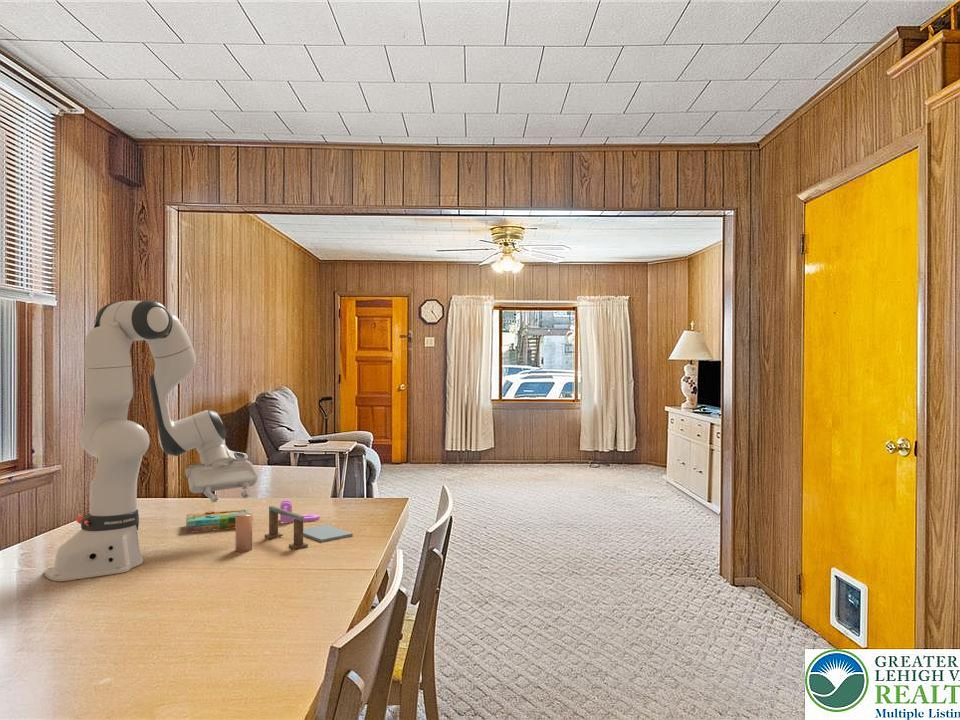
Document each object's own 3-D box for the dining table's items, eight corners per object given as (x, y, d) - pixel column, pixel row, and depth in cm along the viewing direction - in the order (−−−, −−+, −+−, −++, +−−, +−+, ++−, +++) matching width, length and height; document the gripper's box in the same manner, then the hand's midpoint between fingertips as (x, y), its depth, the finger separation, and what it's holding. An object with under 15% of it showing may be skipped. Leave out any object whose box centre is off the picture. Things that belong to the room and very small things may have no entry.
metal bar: (299, 521, 198) (299, 516, 198) (268, 510, 213) (268, 506, 213) (303, 520, 199) (303, 516, 199) (272, 509, 214) (272, 505, 214)
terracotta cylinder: (239, 552, 194) (239, 517, 194) (232, 549, 197) (232, 515, 197) (255, 549, 197) (255, 515, 197) (248, 546, 200) (248, 512, 200)
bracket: (280, 523, 230) (280, 503, 230) (280, 520, 235) (280, 500, 235) (319, 521, 233) (319, 501, 233) (319, 517, 239) (319, 498, 239)
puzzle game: (186, 512, 227) (249, 507, 235) (186, 526, 227) (249, 520, 235) (186, 519, 216) (252, 514, 224) (186, 534, 216) (252, 528, 224)
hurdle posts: (295, 549, 197) (295, 521, 197) (264, 536, 212) (264, 510, 212) (307, 546, 200) (308, 519, 200) (276, 534, 214) (276, 509, 214)
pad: (321, 542, 205) (321, 539, 205) (295, 532, 217) (295, 530, 217) (352, 536, 212) (352, 533, 212) (326, 527, 224) (326, 524, 224)
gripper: (185, 459, 203) (198, 497, 195) (251, 453, 217) (265, 488, 209) (180, 473, 206) (192, 510, 199) (245, 465, 220) (259, 500, 213)
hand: (230, 498), depth 204 cm, fingers open, 8 cm apart
